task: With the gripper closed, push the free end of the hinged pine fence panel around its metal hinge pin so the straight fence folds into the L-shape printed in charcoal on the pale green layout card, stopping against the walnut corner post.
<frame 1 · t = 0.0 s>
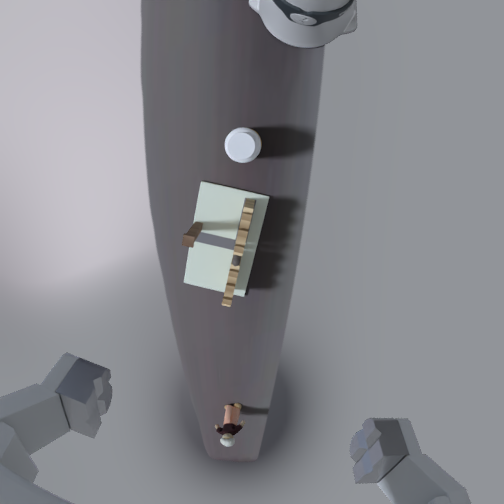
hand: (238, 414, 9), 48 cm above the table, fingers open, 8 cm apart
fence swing: (232, 279, 56), point 4 cm above the table, hinge at 0.0°
supplement bottle: (245, 143, 51), on the table
grandmother figurine: (231, 406, 75), on the table
fence fixed: (239, 245, 58), resting on layout card
layout card: (223, 241, 58), on the table
corner post: (199, 224, 57), resting on layout card
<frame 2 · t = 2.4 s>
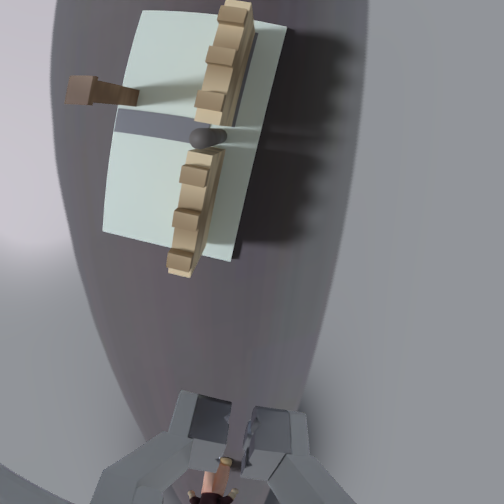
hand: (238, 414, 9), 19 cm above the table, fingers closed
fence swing: (196, 207, 21), point 4 cm above the table, hinge at 0.0°
grandmother figurine: (215, 461, 41), on the table
fence fixed: (220, 135, 24), resting on layout card
layout card: (184, 129, 24), on the table
corner post: (133, 98, 23), resting on layout card
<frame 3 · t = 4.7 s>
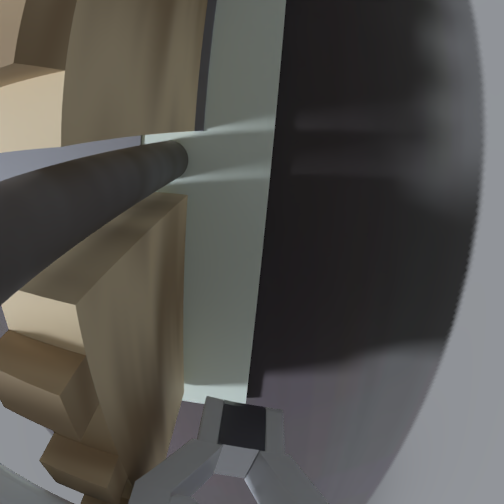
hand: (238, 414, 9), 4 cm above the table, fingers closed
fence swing: (127, 378, 7), point 4 cm above the table, hinge at -2.0°, touching gripper
fence fixed: (174, 158, 9), resting on layout card
layout card: (93, 157, 9), on the table
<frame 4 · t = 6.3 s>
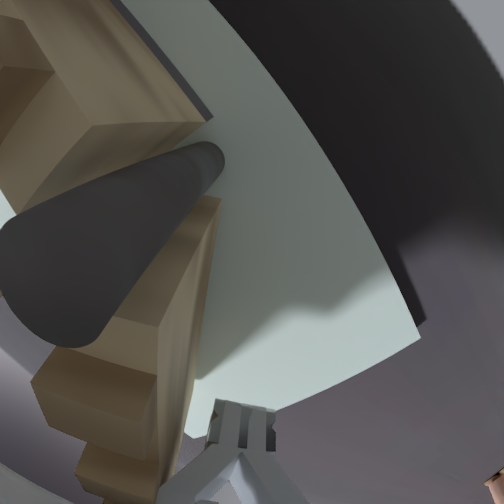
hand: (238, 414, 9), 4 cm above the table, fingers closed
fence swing: (154, 381, 7), point 4 cm above the table, hinge at -46.4°, touching gripper
grandmother figurine: (495, 474, 21), on the table
fence fixed: (207, 159, 9), resting on layout card
layout card: (138, 213, 10), on the table
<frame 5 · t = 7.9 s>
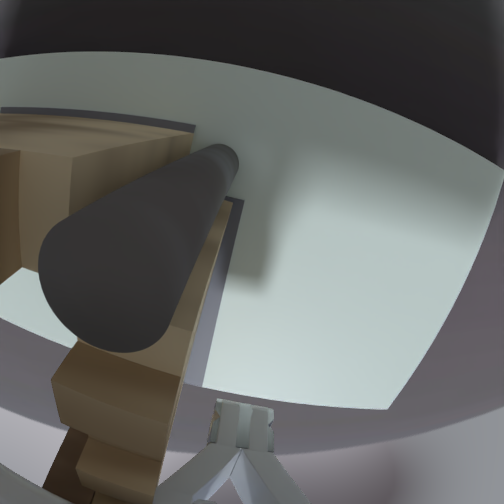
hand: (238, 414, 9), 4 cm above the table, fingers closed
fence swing: (153, 378, 7), point 4 cm above the table, hinge at -93.6°, touching corner post, gripper
fence fixed: (220, 161, 10), resting on layout card
layout card: (202, 248, 11), on the table
corner post: (139, 344, 12), resting on layout card
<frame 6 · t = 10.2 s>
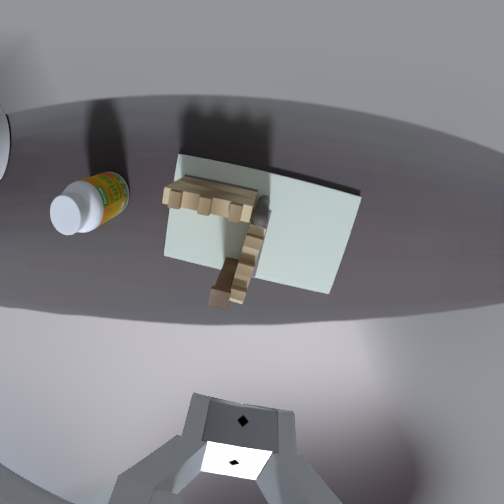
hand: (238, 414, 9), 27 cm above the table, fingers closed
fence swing: (248, 255, 32), point 4 cm above the table, hinge at -93.7°, touching corner post
supplement bottle: (111, 192, 35), on the table
fence fixed: (264, 199, 34), resting on layout card
layout card: (258, 225, 35), on the table
corner post: (231, 261, 37), resting on layout card
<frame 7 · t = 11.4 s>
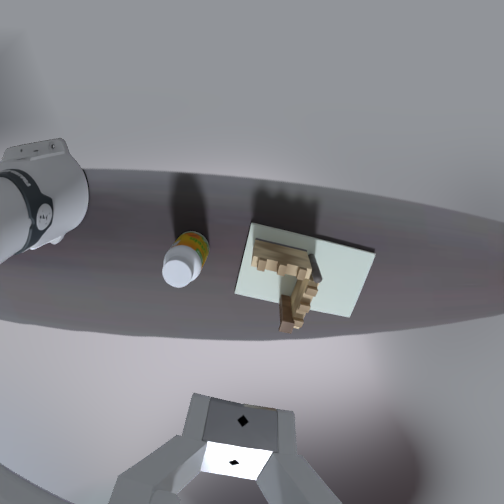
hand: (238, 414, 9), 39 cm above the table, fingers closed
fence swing: (302, 296, 46), point 4 cm above the table, hinge at -93.7°, touching corner post
supplement bottle: (193, 246, 49), on the table
fence fixed: (310, 255, 49), resting on layout card
layout card: (304, 272, 50), on the table
corner post: (284, 296, 52), resting on layout card
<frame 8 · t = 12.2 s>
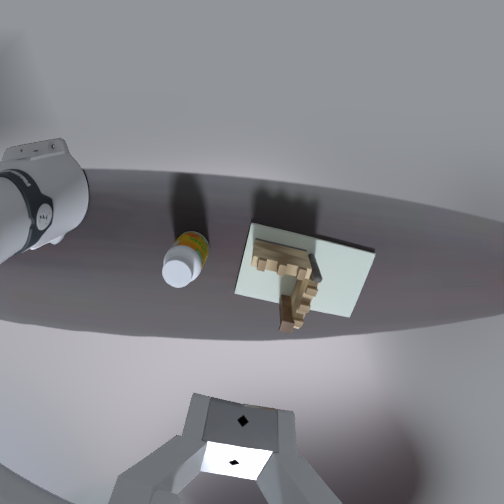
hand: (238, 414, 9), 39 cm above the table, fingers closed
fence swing: (302, 296, 46), point 4 cm above the table, hinge at -93.7°, touching corner post
supplement bottle: (193, 246, 49), on the table
fence fixed: (310, 255, 49), resting on layout card
layout card: (304, 272, 50), on the table
corner post: (284, 296, 52), resting on layout card
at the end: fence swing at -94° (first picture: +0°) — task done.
